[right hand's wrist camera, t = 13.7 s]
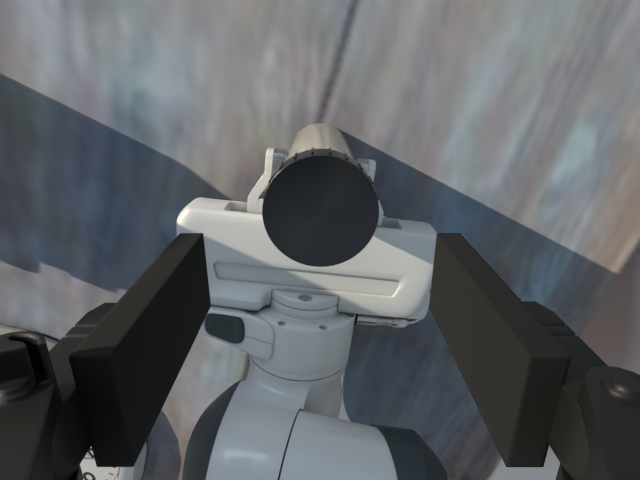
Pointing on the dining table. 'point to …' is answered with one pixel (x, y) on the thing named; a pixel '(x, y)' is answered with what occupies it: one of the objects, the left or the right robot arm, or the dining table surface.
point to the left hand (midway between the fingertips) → (321, 154)
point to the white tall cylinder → (320, 140)
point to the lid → (320, 208)
